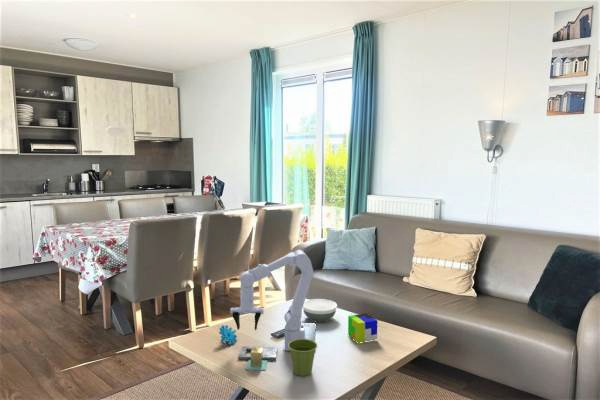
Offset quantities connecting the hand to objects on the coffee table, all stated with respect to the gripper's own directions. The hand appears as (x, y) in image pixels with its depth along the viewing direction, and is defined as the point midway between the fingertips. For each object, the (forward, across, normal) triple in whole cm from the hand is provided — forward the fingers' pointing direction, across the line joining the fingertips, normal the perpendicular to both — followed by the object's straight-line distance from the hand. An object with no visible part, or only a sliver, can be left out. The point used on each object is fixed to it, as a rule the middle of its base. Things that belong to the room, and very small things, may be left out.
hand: (247, 328), depth 185 cm
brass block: (+10, +6, -13) cm, 17 cm away
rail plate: (+10, +6, -4) cm, 12 cm away
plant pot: (+10, +25, -18) cm, 32 cm away
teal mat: (+10, +6, -14) cm, 18 cm away
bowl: (+10, +33, +38) cm, 51 cm away
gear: (+10, -10, +8) cm, 17 cm away
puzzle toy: (+10, +53, +15) cm, 56 cm away
